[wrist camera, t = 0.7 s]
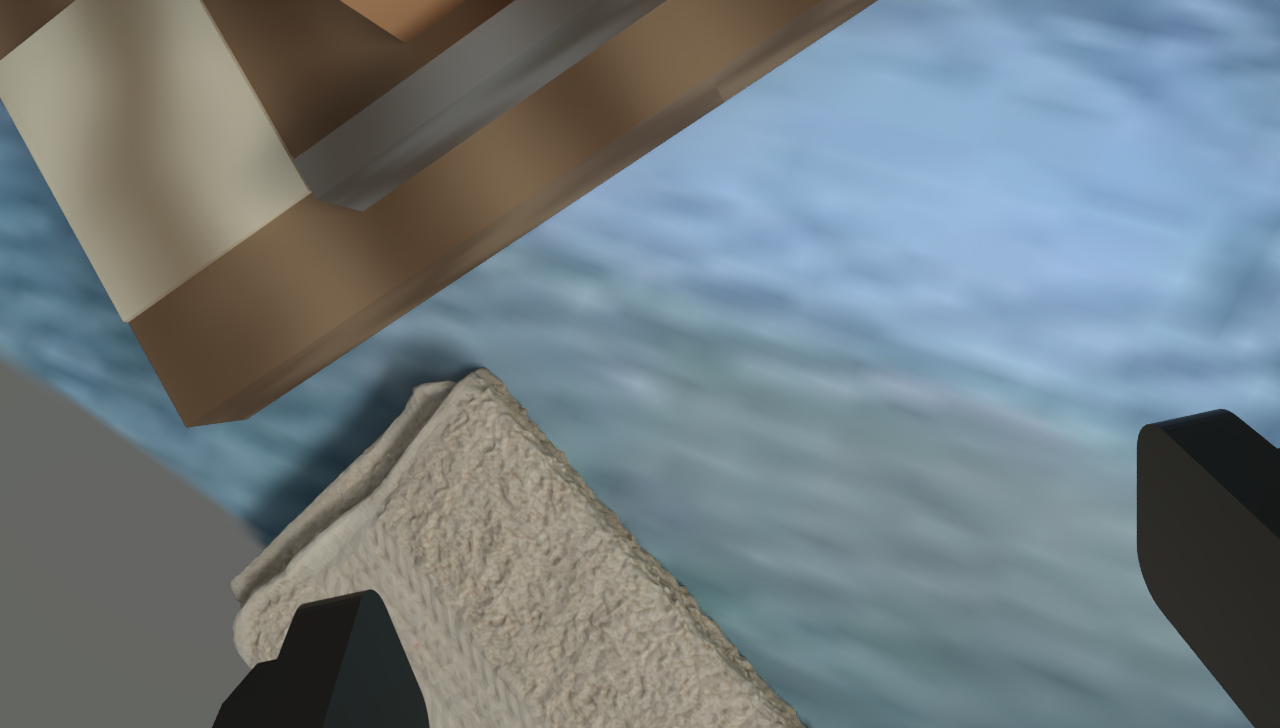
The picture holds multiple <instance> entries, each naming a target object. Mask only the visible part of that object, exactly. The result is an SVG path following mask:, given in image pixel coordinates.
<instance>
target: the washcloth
mask: <svg viewBox="0 0 1280 728" xmlns="http://www.w3.org/2000/svg"><path fill="white" fill-rule="evenodd" d="M412 388H413V394H412V395H411V396H410V397H409V400H408V402H407V404H406V406H405V409H404V410H403V411H402V413H401V414H400V416H398V417H397V418H396V419H395V420H394V421H393V423H392V424H391V425H390V426H389V427H388V428H387V429H386V431H385V432H384V433H383V434H382V435H381V436H380V437H379V438H378V439H377V440H376V441H375V442H374V443H373V444H372V445H371V446H370V447H369V448H367V449H366V450H365V451H364V452H363V453H362V454H361V455H360V456H359V457H357V458H356V459H355V460H354V461H353V463H351V464H350V465H349V466H348V467H347V469H345V470H344V471H343V472H342V473H341V474H340V475H339V476H338V478H337V479H335V480H334V481H333V482H332V483H331V484H330V485H329V486H328V487H327V488H326V489H325V490H324V491H323V492H322V493H321V494H320V495H319V496H317V497H316V499H315V500H314V501H313V502H312V503H311V504H310V505H309V506H308V507H307V508H306V509H305V510H304V511H303V512H302V513H301V514H300V515H299V516H297V517H296V518H295V519H294V520H293V521H292V522H291V523H290V524H288V525H287V527H286V528H285V529H284V530H283V531H282V532H281V533H280V534H279V535H278V536H277V537H276V538H274V540H273V541H272V542H271V543H270V544H269V545H268V546H267V547H266V548H265V549H264V550H263V551H262V552H261V553H260V554H259V555H258V556H257V557H256V558H255V559H254V560H253V561H252V562H251V563H249V565H248V566H247V567H246V568H245V569H244V570H243V571H242V572H241V573H240V574H238V575H237V576H236V577H234V578H233V579H232V580H231V581H230V582H229V586H230V588H231V590H232V592H233V594H234V596H235V598H236V600H237V601H239V602H240V605H241V609H240V611H239V612H238V614H237V616H236V618H235V620H234V622H233V631H232V636H233V640H234V643H235V647H236V649H237V651H238V652H239V654H240V656H241V657H242V659H243V660H244V661H245V662H246V664H247V665H248V666H249V667H250V668H251V670H252V669H253V668H254V667H255V665H256V664H257V663H260V662H264V661H269V660H274V659H277V657H278V655H279V652H280V650H281V647H282V644H283V642H284V639H285V637H286V634H287V632H288V629H289V626H290V624H291V621H292V619H293V616H294V614H295V612H296V610H297V608H298V607H299V606H300V605H302V604H304V603H309V602H313V601H318V600H323V599H327V598H332V597H336V596H341V595H346V594H350V593H355V592H360V591H364V590H369V589H372V590H375V591H376V592H377V593H378V594H379V595H380V597H381V598H382V600H383V602H384V604H385V606H386V608H387V610H388V613H389V615H390V618H391V620H392V622H393V625H394V627H395V629H396V632H397V634H398V637H399V639H400V641H401V644H402V646H403V648H404V651H405V653H406V656H407V658H408V660H409V663H410V665H411V668H412V670H413V672H414V675H415V677H416V679H417V682H418V684H419V687H420V689H421V691H422V694H423V697H424V700H425V703H426V708H427V712H428V718H429V725H430V728H807V727H805V726H804V725H803V724H802V723H801V722H800V721H799V720H798V719H797V716H796V712H795V710H794V709H793V708H792V707H790V706H789V705H788V704H787V703H786V702H784V701H783V700H781V699H780V698H779V697H778V696H777V695H776V693H775V692H774V691H773V690H772V689H771V688H770V687H768V685H767V684H766V683H765V682H764V680H763V679H762V678H760V677H759V676H758V675H757V674H756V672H755V671H754V670H753V669H752V666H751V664H750V663H749V662H748V661H747V660H746V657H743V656H740V655H739V654H738V651H737V647H736V646H735V645H733V644H731V643H730V642H729V641H728V640H727V639H726V637H725V635H724V634H723V632H722V630H721V629H720V627H719V626H718V625H717V623H716V622H715V621H714V620H711V619H709V618H708V617H707V616H706V615H704V614H703V613H702V612H701V610H700V608H699V606H698V605H697V602H696V600H695V598H694V597H693V596H692V595H690V594H689V593H688V591H687V588H685V587H682V586H679V585H678V583H677V581H676V580H675V578H674V576H673V575H672V574H670V573H668V572H667V571H666V570H665V569H664V568H662V567H661V565H660V563H659V561H657V560H656V559H654V558H653V557H652V556H651V555H650V554H649V553H648V552H646V551H645V550H643V549H641V548H640V546H639V544H638V543H637V542H636V541H635V538H634V536H633V535H632V534H631V533H630V532H629V531H628V530H627V529H626V528H625V527H624V526H623V525H622V524H621V522H620V521H619V519H618V517H617V516H616V514H615V513H614V512H612V511H610V510H609V509H607V508H606V507H605V506H604V505H603V504H602V503H601V502H600V501H599V500H598V499H597V498H596V496H595V494H594V493H593V492H592V491H591V490H590V488H589V487H588V486H587V485H586V484H585V483H584V480H583V478H582V477H580V475H579V473H578V472H576V471H575V470H574V469H573V468H572V467H571V466H570V465H569V463H568V462H567V460H566V458H565V454H564V453H563V451H559V450H558V449H557V448H556V447H555V446H554V445H553V444H552V442H551V441H549V440H548V439H547V438H546V436H545V434H544V433H543V432H542V431H541V430H539V428H538V425H537V424H536V423H534V422H533V421H532V420H531V419H530V418H529V417H528V416H527V414H526V413H527V409H525V408H523V407H522V406H521V405H520V404H519V403H518V402H517V401H516V400H515V399H514V398H513V397H512V396H511V395H510V394H509V392H508V389H507V387H506V385H505V384H504V383H503V382H502V381H501V380H500V379H498V378H497V377H495V376H494V375H493V374H492V373H491V372H490V371H489V370H488V369H487V368H480V369H477V370H476V371H474V372H471V373H470V374H468V375H467V376H466V377H464V378H463V379H462V380H460V381H459V382H458V383H455V382H452V381H449V380H448V381H440V382H428V383H423V384H420V385H418V386H416V387H412Z"/></svg>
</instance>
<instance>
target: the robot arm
mask: <svg viewBox="0 0 1280 728" xmlns="http://www.w3.org/2000/svg"><path fill="white" fill-rule="evenodd" d="M1137 553H1138V559H1139V564H1140V568H1141V571H1142V575H1143V578H1144V580H1145V583H1146V585H1147V588H1148V590H1149V592H1150V594H1151V596H1152V598H1153V600H1154V601H1155V603H1156V604H1157V606H1158V607H1159V609H1160V610H1161V611H1162V613H1163V614H1164V615H1165V616H1166V618H1167V619H1168V620H1169V621H1170V623H1171V624H1172V625H1173V626H1174V628H1175V629H1176V630H1177V631H1178V633H1179V634H1180V635H1181V636H1182V638H1183V639H1184V640H1185V641H1186V643H1187V644H1188V645H1189V646H1190V648H1191V649H1192V650H1193V651H1194V653H1195V654H1196V655H1197V656H1198V658H1199V659H1200V660H1201V661H1202V663H1203V664H1204V665H1205V666H1206V667H1207V669H1208V670H1209V671H1210V672H1211V674H1212V675H1213V676H1214V677H1215V679H1216V680H1217V681H1218V682H1219V684H1220V685H1221V686H1222V687H1223V689H1224V690H1225V691H1226V692H1227V694H1228V695H1229V696H1230V697H1231V699H1232V700H1233V701H1234V702H1235V704H1236V705H1237V706H1238V707H1239V709H1240V710H1241V711H1242V712H1243V714H1244V715H1245V716H1246V717H1247V719H1248V720H1249V721H1250V722H1251V724H1252V725H1253V726H1254V727H1255V728H1280V448H1278V449H1277V448H1276V447H1274V446H1273V445H1272V444H1271V443H1270V442H1268V441H1267V440H1266V439H1265V438H1263V437H1262V436H1261V435H1260V434H1258V433H1257V432H1256V431H1255V430H1253V429H1252V428H1251V427H1250V426H1248V425H1247V424H1246V423H1245V422H1244V421H1242V420H1241V419H1240V418H1239V417H1237V416H1236V415H1235V414H1233V413H1232V412H1230V411H1228V410H1225V409H1218V410H1213V411H1208V412H1204V413H1199V414H1194V415H1190V416H1185V417H1180V418H1176V419H1171V420H1166V421H1162V422H1157V423H1152V424H1148V425H1145V426H1144V427H1143V428H1142V429H1141V431H1140V433H1139V435H1138V441H1137ZM212 728H430V725H429V718H428V712H427V708H426V703H425V700H424V697H423V694H422V691H421V689H420V687H419V684H418V682H417V679H416V677H415V675H414V672H413V670H412V668H411V665H410V663H409V660H408V658H407V656H406V653H405V651H404V648H403V646H402V644H401V641H400V639H399V637H398V634H397V632H396V629H395V627H394V625H393V622H392V620H391V618H390V615H389V613H388V610H387V608H386V606H385V604H384V602H383V600H382V598H381V597H380V595H379V594H378V593H377V592H376V591H375V590H372V589H369V590H364V591H360V592H355V593H350V594H346V595H341V596H336V597H332V598H327V599H323V600H318V601H313V602H309V603H304V604H302V605H300V606H299V607H298V608H297V610H296V612H295V614H294V616H293V619H292V621H291V624H290V626H289V629H288V632H287V634H286V637H285V639H284V642H283V644H282V647H281V650H280V652H279V655H278V657H277V659H274V660H269V661H264V662H260V663H257V664H256V665H255V667H254V668H253V669H252V670H251V671H250V672H249V674H248V675H247V676H246V677H245V678H244V680H243V681H242V682H241V683H240V684H239V685H238V686H237V688H236V689H235V690H234V691H233V692H232V694H230V696H229V697H228V698H227V699H226V700H225V701H224V703H223V704H222V706H221V708H220V710H219V713H218V715H217V717H216V720H215V722H214V724H213V727H212Z"/></svg>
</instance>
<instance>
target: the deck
mask: <svg viewBox="0 0 1280 728" xmlns="http://www.w3.org/2000/svg"><path fill="white" fill-rule="evenodd" d="M876 1H877V0H465V1H464V2H462V3H461V4H460V5H458V6H457V7H455V8H454V9H453V10H451V11H450V12H449V13H447V14H446V15H444V16H443V17H442V18H440V19H439V20H438V21H436V22H435V23H434V24H432V25H431V26H429V27H428V28H427V29H425V30H424V31H423V32H421V33H420V34H418V35H417V36H416V37H414V38H413V39H412V40H410V41H409V42H407V43H406V44H405V43H404V42H402V41H401V40H399V39H398V38H396V37H395V36H393V35H392V34H390V33H389V32H387V31H386V30H384V29H383V28H381V27H380V26H378V25H377V24H375V23H374V22H372V21H371V20H369V19H368V18H366V17H365V16H363V15H361V14H360V13H358V12H357V11H355V10H354V9H352V8H351V7H349V6H348V5H346V4H345V3H343V2H342V1H340V0H0V98H1V100H2V102H3V104H4V105H5V107H6V109H7V111H8V113H9V114H10V116H11V118H12V120H13V122H14V124H15V125H16V127H17V129H18V131H19V133H20V135H21V136H22V138H23V140H24V142H25V144H26V145H27V147H28V149H29V151H30V153H31V155H32V156H33V158H34V160H35V162H36V164H37V166H38V167H39V169H40V171H41V173H42V175H43V176H44V178H45V180H46V182H47V184H48V186H49V187H50V189H51V191H52V193H53V195H54V196H55V198H56V200H57V202H58V204H59V206H60V207H61V209H62V211H63V213H64V215H65V217H66V218H67V220H68V222H69V224H70V226H71V227H72V229H73V231H74V233H75V235H76V237H77V238H78V240H79V242H80V244H81V246H82V248H83V249H84V251H85V253H86V255H87V257H88V258H89V260H90V262H91V264H92V266H93V268H94V269H95V271H96V273H97V275H98V277H99V279H100V280H101V282H102V284H103V286H104V288H105V289H106V291H107V293H108V295H109V297H110V299H111V300H112V302H113V304H114V306H115V308H116V309H117V311H118V313H119V315H120V317H121V319H122V320H123V322H128V323H129V325H130V326H131V328H132V330H133V332H134V334H135V335H136V337H137V339H138V341H139V343H140V345H141V346H142V348H143V350H144V352H145V354H146V355H147V357H148V359H149V361H150V363H151V365H152V366H153V368H154V370H155V372H156V374H157V376H158V377H159V379H160V381H161V383H162V385H163V386H164V388H165V390H166V392H167V394H168V396H169V397H170V399H171V401H172V403H173V405H174V406H175V408H176V410H177V412H178V414H179V416H180V417H181V419H182V421H183V423H184V425H185V427H186V428H187V427H194V426H202V425H209V424H216V423H223V422H231V421H238V420H245V419H248V418H249V417H251V416H252V415H254V414H255V413H257V412H258V411H260V410H261V409H263V408H264V407H266V406H267V405H269V404H270V403H272V402H273V401H275V400H276V399H278V398H279V397H281V396H282V395H284V394H285V393H287V392H288V391H290V390H291V389H293V388H294V387H296V386H297V385H299V384H300V383H302V382H303V381H305V380H307V379H308V378H310V377H311V376H313V375H314V374H316V373H317V372H319V371H320V370H322V369H323V368H325V367H326V366H328V365H329V364H331V363H332V362H334V361H335V360H337V359H338V358H340V357H341V356H343V355H344V354H346V353H347V352H349V351H350V350H352V349H353V348H355V347H356V346H358V345H359V344H361V343H362V342H364V341H365V340H367V339H368V338H370V337H371V336H373V335H374V334H376V333H377V332H379V331H380V330H382V329H383V328H385V327H386V326H388V325H389V324H391V323H392V322H394V321H395V320H397V319H398V318H400V317H401V316H403V315H404V314H406V313H407V312H409V311H410V310H412V309H413V308H415V307H416V306H418V305H419V304H421V303H422V302H424V301H425V300H427V299H428V298H430V297H431V296H433V295H435V294H436V293H438V292H439V291H441V290H442V289H444V288H445V287H447V286H448V285H450V284H451V283H453V282H454V281H456V280H457V279H459V278H460V277H462V276H463V275H465V274H466V273H468V272H469V271H471V270H472V269H474V268H475V267H477V266H478V265H480V264H481V263H483V262H484V261H486V260H487V259H489V258H490V257H492V256H493V255H495V254H496V253H498V252H499V251H501V250H502V249H504V248H505V247H507V246H508V245H510V244H511V243H513V242H514V241H516V240H517V239H519V238H520V237H522V236H523V235H525V234H526V233H528V232H529V231H531V230H532V229H534V228H535V227H537V226H538V225H540V224H541V223H543V222H544V221H546V220H547V219H549V218H550V217H552V216H553V215H555V214H556V213H558V212H559V211H561V210H563V209H564V208H566V207H567V206H569V205H570V204H572V203H573V202H575V201H576V200H578V199H579V198H581V197H582V196H584V195H585V194H587V193H588V192H590V191H591V190H593V189H594V188H596V187H597V186H599V185H600V184H602V183H603V182H605V181H606V180H608V179H609V178H611V177H612V176H614V175H615V174H617V173H618V172H620V171H621V170H623V169H624V168H626V167H627V166H629V165H630V164H632V163H633V162H635V161H636V160H638V159H639V158H641V157H642V156H644V155H645V154H647V153H648V152H650V151H651V150H653V149H654V148H656V147H657V146H659V145H660V144H662V143H663V142H665V141H666V140H668V139H669V138H671V137H672V136H674V135H675V134H677V133H678V132H680V131H681V130H683V129H684V128H686V127H687V126H689V125H691V124H692V123H694V122H695V121H697V120H698V119H700V118H701V117H703V116H704V115H706V114H707V113H709V112H710V111H712V110H713V109H715V108H716V107H718V106H719V105H721V104H722V103H724V102H725V101H727V100H728V99H730V98H731V97H733V96H734V95H736V94H737V93H739V92H740V91H742V90H743V89H745V88H746V87H748V86H749V85H751V84H752V83H754V82H755V81H757V80H758V79H760V78H761V77H763V76H764V75H766V74H767V73H769V72H770V71H772V70H773V69H775V68H776V67H778V66H779V65H781V64H782V63H784V62H785V61H787V60H788V59H790V58H791V57H793V56H794V55H796V54H797V53H799V52H800V51H802V50H803V49H805V48H806V47H808V46H809V45H811V44H812V43H814V42H816V41H817V40H819V39H820V38H822V37H823V36H825V35H826V34H828V33H829V32H831V31H832V30H834V29H835V28H837V27H838V26H840V25H841V24H843V23H844V22H846V21H847V20H849V19H850V18H852V17H853V16H855V15H856V14H858V13H859V12H861V11H862V10H864V9H865V8H867V7H868V6H870V5H871V4H873V3H874V2H876Z"/></svg>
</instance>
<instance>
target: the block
mask: <svg viewBox="0 0 1280 728" xmlns="http://www.w3.org/2000/svg"><path fill="white" fill-rule="evenodd" d="M340 1H342V2H343V3H345V4H346V5H348V6H349V7H351V8H352V9H354V10H355V11H357V12H358V13H360V14H361V15H363V16H365V17H366V18H368V19H369V20H371V21H372V22H374V23H375V24H377V25H378V26H380V27H381V28H383V29H384V30H386V31H387V32H389V33H390V34H392V35H393V36H395V37H396V38H398V39H399V40H401V41H402V42H404V43H405V44H406V43H407V42H409V41H410V40H412V39H413V38H414V37H416V36H417V35H418V34H420V33H421V32H423V31H424V30H425V29H427V28H428V27H429V26H431V25H432V24H434V23H435V22H436V21H438V20H439V19H440V18H442V17H443V16H444V15H446V14H447V13H449V12H450V11H451V10H453V9H454V8H455V7H457V6H458V5H460V4H461V3H462V2H464V1H465V0H340Z"/></svg>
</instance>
